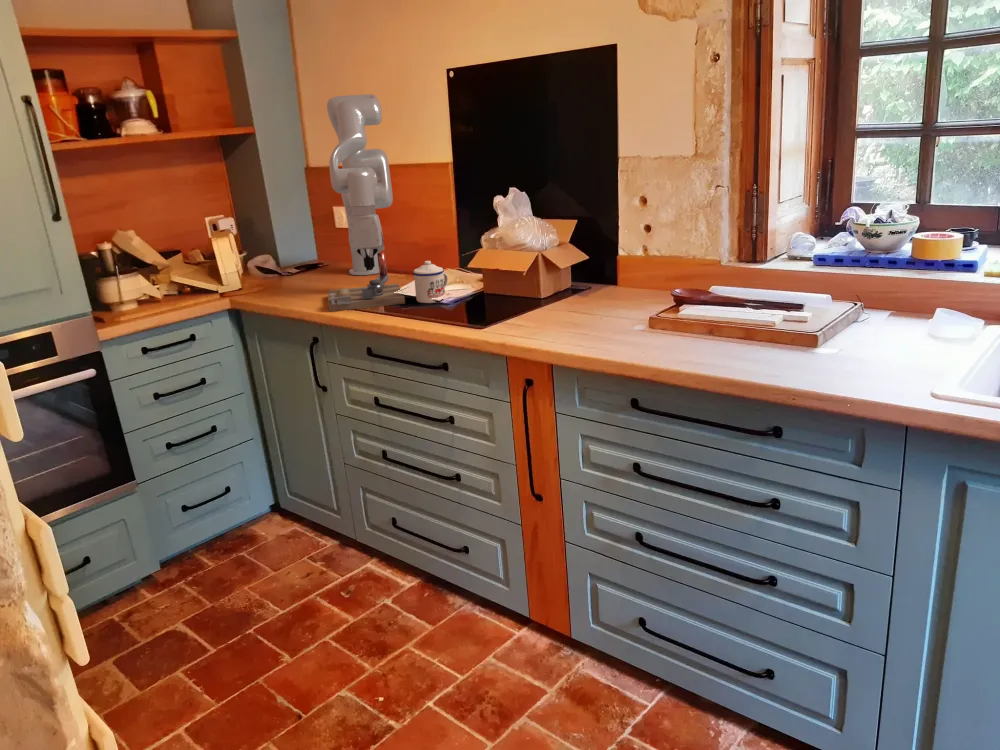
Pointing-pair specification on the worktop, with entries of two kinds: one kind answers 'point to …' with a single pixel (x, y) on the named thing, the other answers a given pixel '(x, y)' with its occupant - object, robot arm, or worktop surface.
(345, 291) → the walnut
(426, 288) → the teacup with lid
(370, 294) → the lever
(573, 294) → the worktop surface
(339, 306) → the nutcracker base
